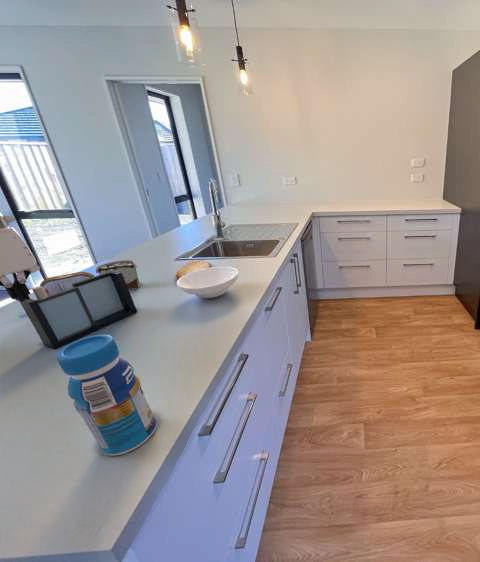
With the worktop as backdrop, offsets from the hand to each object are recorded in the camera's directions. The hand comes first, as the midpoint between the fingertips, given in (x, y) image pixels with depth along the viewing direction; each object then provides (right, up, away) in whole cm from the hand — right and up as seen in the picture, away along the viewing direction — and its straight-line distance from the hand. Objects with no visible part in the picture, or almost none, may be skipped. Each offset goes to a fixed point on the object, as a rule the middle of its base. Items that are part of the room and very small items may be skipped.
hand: (22, 299), depth 73 cm
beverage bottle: (+42, -24, -19) cm, 52 cm away
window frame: (+3, -9, +16) cm, 18 cm away
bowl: (+28, 0, +35) cm, 45 cm away
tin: (-23, -1, +35) cm, 42 cm away
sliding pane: (+3, -10, +11) cm, 15 cm away
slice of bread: (+9, +8, +54) cm, 55 cm away
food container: (-9, +2, +42) cm, 43 cm away
